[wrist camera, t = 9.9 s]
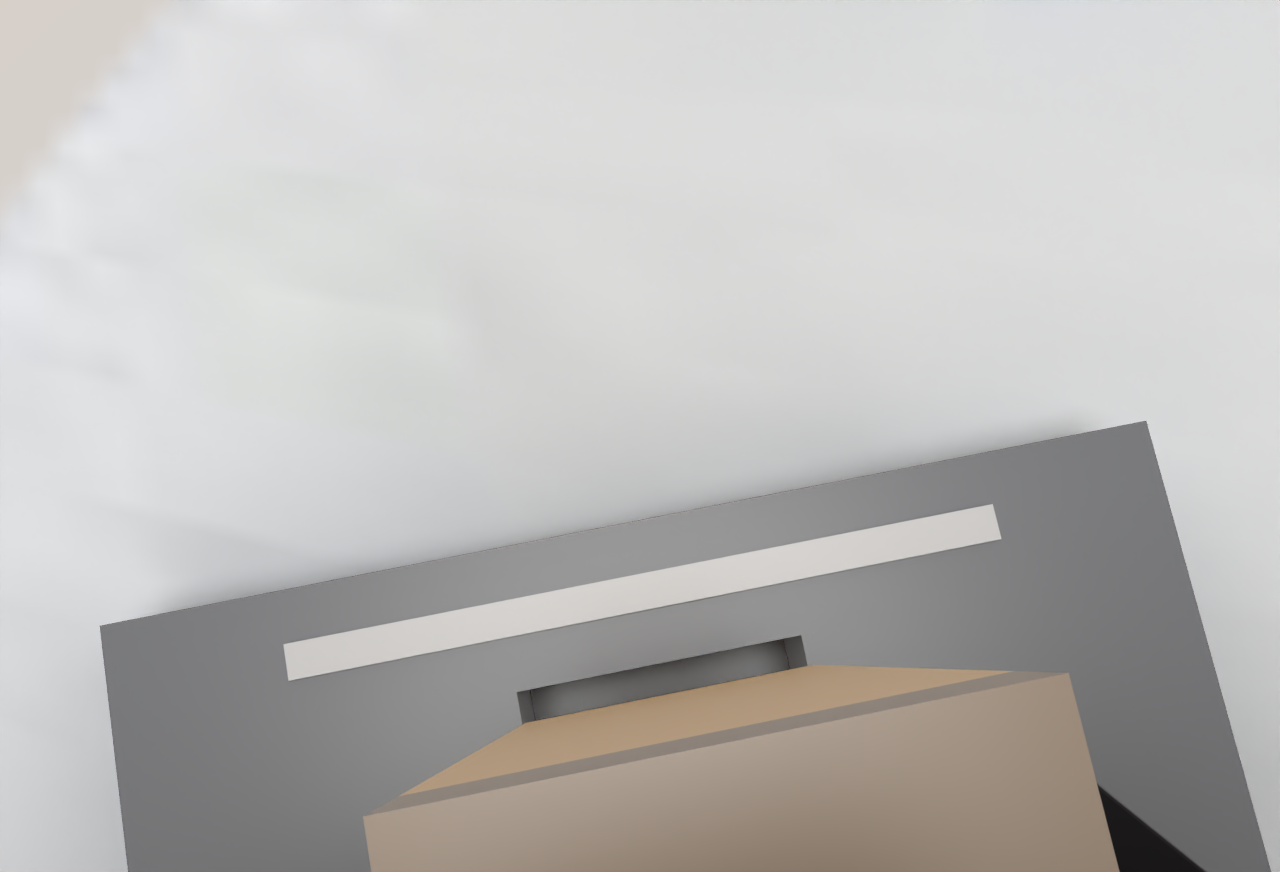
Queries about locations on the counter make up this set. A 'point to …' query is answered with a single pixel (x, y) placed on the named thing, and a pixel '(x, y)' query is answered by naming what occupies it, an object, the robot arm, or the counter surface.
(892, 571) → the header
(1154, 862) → the robot arm
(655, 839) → the plug
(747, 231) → the counter surface
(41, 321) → the counter surface
